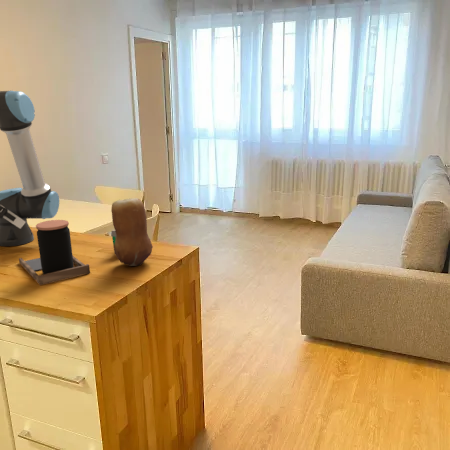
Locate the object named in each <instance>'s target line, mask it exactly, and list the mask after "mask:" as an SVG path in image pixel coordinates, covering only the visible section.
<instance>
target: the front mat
mask: <svg viewBox="0 0 450 450" xmlns="http://www.w3.org/2000/svg"><path fill="white" fill-rule="evenodd" d="M24 261H25V262H26V263H27V264H28V265H29V266H30V267H31V268H32V269H33V270H34V271H35V272H39V271H42V267H41V260H40V257H38V258H33V259H29V260H24Z"/></svg>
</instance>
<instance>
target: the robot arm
mask: <svg viewBox="0 0 450 450" xmlns="http://www.w3.org/2000/svg"><path fill="white" fill-rule="evenodd" d="M35 116H36V114H35V107H34V104H33V101H32V99H31V98H30V97H29V96H28V95H27V94H26V93H25V92H24V91H18V90H0V131H1V132H3V133H4V134H5V135H6V138H7V140H8V144H9V146H10V147H9V148H10V150H11V153H12V157H13V160H14V162H15V166H16V168H17V172H18V175H19V178H20V181H21V182H20V183H21V184H22V187H14V188H13V187H12V188H8V189H4V190H0V247H15V246H22V245H25V244H28V243H31V242H32V241H34V239H35V237H34V233H33V231H32V228H31V227H30V225H29V224H28V220H29V219H30V220H31V219H32V220H33V219H36V220H37V219H42V220H45V219H53V218H54V217H56V215H57V214H58V211H59V209H60V196H59V194H58V193H57V191H54V190H52V188H51V186H50V185H49V183H46V182H45V179H44V176H43V171H42V167H41V165H40V162H39V158H38V155H37V151H36V147H35V144H34V141H33V138H32V134H31V131H30V129H31V127H32V125H33V123H32V122H33V121H34V120H35Z"/></svg>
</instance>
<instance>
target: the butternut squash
mask: <svg viewBox="0 0 450 450" xmlns="http://www.w3.org/2000/svg"><path fill="white" fill-rule="evenodd" d="M110 212H111V219H112V226H113V228H114V231H116V240H115V245H114V246H113V250H114V249H115V253H114V255H115V256H116V259H117V260H118V261H119V262H120V263H121V264H124V265H127V266H130V267H138V266H139V265H140V266H141V265H142V264H144V263H145V261H146V260H147V259H148V258H149V257H150V255H151V254H152V253H153V247H154V246H153V244H152V241H151V239H150V237H149V235H148V224H147V223H148V221H147V220H148V219H147V218H148V217H147V213H146V208H145V204H144V202H143V201H142V200H141V199H140V198H137V197H131V198H126V199H118V200H115V201H113V202H112V204H111V211H110Z"/></svg>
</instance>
